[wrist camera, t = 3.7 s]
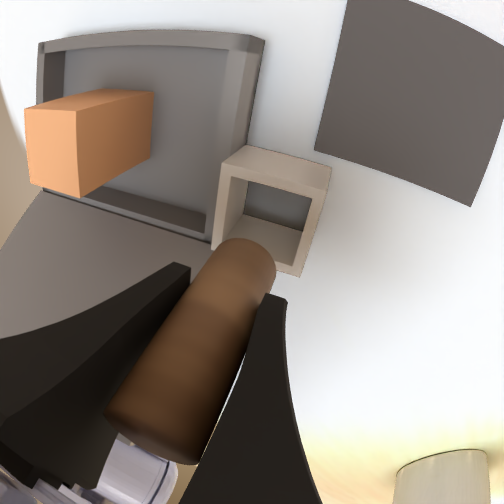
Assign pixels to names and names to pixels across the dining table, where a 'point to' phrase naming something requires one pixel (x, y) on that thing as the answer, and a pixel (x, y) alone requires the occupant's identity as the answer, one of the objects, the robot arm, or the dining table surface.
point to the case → (153, 176)
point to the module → (87, 138)
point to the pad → (414, 97)
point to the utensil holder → (445, 479)
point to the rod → (194, 356)
